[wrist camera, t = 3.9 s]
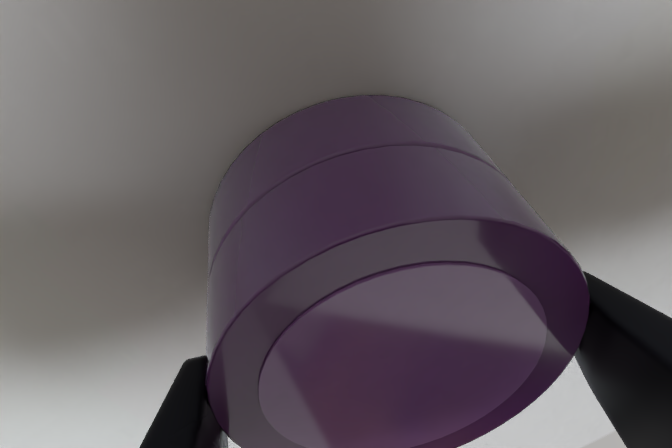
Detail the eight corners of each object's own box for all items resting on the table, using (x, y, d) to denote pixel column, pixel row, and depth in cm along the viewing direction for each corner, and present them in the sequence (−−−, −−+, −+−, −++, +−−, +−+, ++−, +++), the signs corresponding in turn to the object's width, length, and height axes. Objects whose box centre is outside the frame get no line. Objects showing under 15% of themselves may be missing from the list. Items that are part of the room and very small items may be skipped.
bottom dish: (503, 65, 10) (558, 109, 8) (480, 294, 14) (514, 353, 12) (166, 129, 9) (157, 189, 8) (246, 347, 13) (250, 416, 12)
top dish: (557, 109, 8) (639, 174, 7) (514, 353, 12) (558, 429, 11) (156, 189, 8) (141, 280, 6) (250, 416, 12) (255, 505, 10)
